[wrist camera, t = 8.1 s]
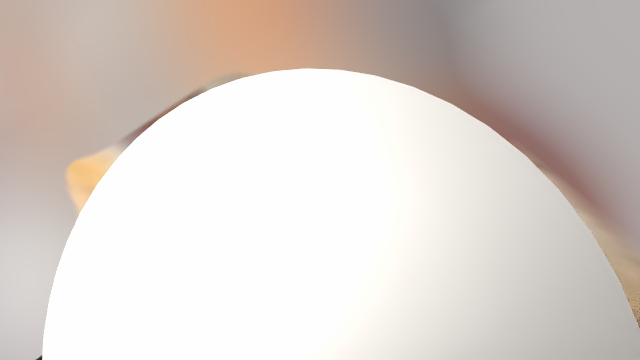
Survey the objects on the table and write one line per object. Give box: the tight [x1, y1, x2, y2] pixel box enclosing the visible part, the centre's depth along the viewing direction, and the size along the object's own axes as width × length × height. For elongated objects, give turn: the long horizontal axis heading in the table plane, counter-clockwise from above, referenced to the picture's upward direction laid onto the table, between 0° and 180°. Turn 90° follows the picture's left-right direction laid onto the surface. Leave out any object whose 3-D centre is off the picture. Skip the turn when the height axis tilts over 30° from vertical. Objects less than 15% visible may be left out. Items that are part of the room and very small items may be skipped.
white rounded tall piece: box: [42, 69, 640, 360], centre depth 8 cm, size 7×7×12 cm
